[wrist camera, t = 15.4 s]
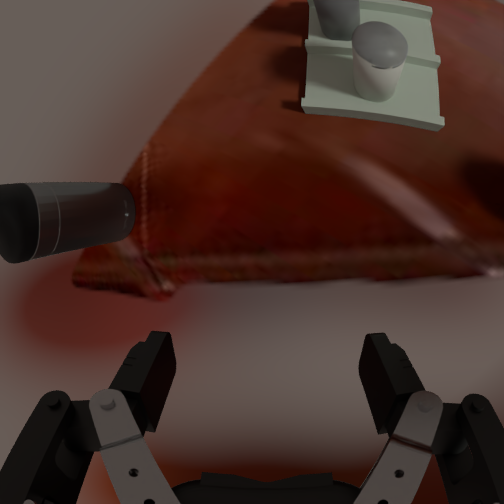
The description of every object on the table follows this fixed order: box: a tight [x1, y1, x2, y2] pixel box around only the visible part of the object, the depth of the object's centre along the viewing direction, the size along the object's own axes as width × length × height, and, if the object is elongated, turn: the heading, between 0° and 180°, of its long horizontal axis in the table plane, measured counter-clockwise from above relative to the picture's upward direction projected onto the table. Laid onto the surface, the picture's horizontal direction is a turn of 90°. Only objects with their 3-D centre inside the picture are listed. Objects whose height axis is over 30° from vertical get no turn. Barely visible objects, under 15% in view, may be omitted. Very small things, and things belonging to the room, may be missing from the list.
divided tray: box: [301, 0, 444, 132], centre depth 27 cm, size 16×17×3 cm
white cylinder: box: [352, 21, 408, 103], centre depth 23 cm, size 5×5×10 cm
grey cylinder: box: [313, 0, 360, 41], centre depth 23 cm, size 5×5×10 cm
